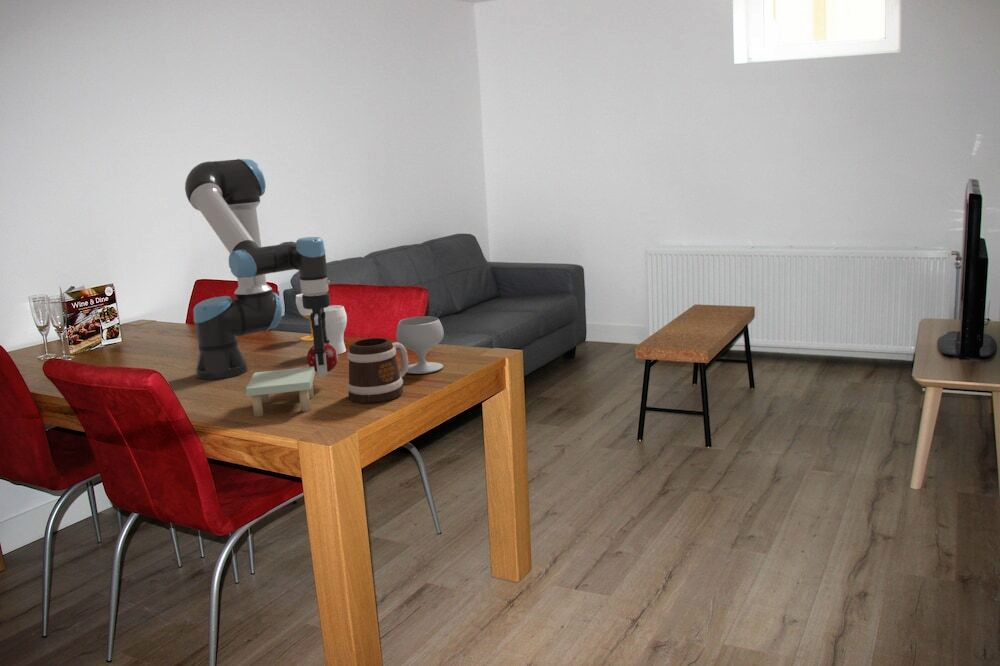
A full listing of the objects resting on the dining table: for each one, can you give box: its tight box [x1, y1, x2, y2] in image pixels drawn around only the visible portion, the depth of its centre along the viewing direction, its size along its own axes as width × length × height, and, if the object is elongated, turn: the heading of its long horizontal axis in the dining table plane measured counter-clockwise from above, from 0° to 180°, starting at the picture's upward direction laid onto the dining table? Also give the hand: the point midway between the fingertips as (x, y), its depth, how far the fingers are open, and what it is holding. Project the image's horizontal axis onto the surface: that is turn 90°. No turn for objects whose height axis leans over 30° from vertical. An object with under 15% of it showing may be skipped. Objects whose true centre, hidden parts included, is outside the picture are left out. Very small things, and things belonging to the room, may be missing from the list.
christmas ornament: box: [306, 343, 339, 373], centre depth 241 cm, size 9×9×10 cm
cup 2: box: [295, 293, 314, 342], centre depth 305 cm, size 9×9×16 cm
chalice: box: [395, 315, 445, 375], centre depth 251 cm, size 14×14×15 cm
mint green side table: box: [245, 366, 316, 418], centre depth 225 cm, size 16×16×8 cm
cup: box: [323, 304, 348, 355], centre depth 281 cm, size 11×11×15 cm
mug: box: [346, 337, 409, 404], centre depth 230 cm, size 20×15×15 cm
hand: (323, 370), depth 242 cm, fingers closed on christmas ornament, 9 cm apart
